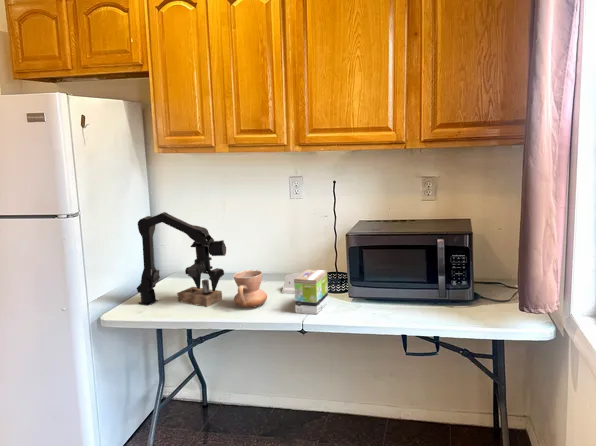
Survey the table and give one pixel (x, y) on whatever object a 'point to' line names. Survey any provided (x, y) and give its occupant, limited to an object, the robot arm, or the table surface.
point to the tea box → (311, 291)
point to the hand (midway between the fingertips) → (206, 289)
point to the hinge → (289, 284)
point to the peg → (205, 287)
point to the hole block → (199, 296)
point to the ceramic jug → (249, 289)
